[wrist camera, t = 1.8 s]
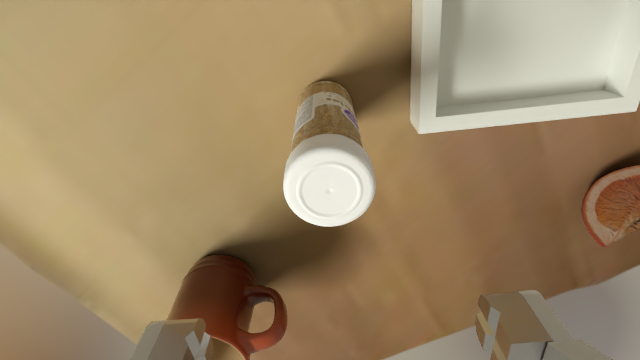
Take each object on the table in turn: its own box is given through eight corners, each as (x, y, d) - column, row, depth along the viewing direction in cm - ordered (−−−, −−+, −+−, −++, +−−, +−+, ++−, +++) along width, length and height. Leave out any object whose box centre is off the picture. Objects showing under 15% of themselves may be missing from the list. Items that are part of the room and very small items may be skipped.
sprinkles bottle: (363, 102, 28) (397, 185, 16) (328, 143, 30) (336, 244, 18) (319, 66, 27) (321, 129, 15) (285, 111, 28) (263, 199, 17)
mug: (206, 310, 40) (174, 404, 31) (167, 255, 36) (118, 345, 27) (304, 287, 38) (301, 379, 29) (276, 226, 34) (261, 312, 25)
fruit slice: (645, 137, 30) (701, 162, 26) (670, 186, 32) (724, 217, 28) (553, 194, 33) (589, 226, 28) (582, 235, 35) (620, 270, 31)
